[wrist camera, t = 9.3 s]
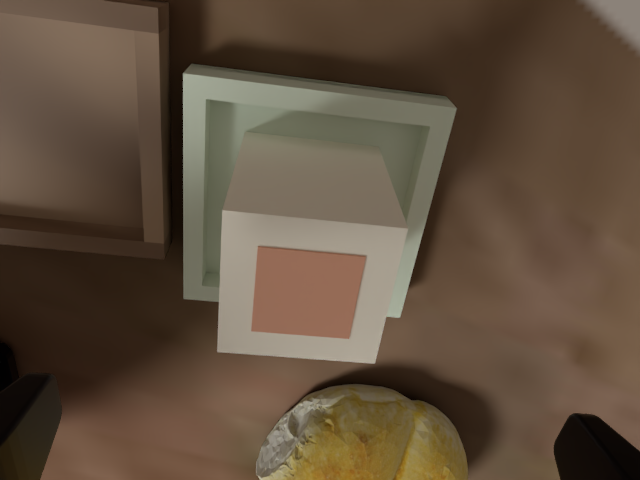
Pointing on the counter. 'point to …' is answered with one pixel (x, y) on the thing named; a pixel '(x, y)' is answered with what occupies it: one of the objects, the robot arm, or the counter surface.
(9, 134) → the walnut tray
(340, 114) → the green tray
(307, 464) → the bread roll
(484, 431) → the counter surface
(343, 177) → the letter block
